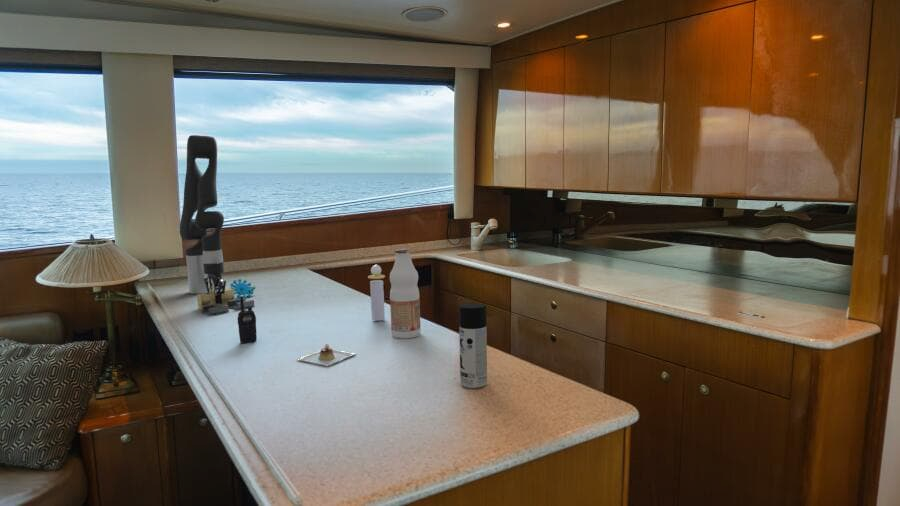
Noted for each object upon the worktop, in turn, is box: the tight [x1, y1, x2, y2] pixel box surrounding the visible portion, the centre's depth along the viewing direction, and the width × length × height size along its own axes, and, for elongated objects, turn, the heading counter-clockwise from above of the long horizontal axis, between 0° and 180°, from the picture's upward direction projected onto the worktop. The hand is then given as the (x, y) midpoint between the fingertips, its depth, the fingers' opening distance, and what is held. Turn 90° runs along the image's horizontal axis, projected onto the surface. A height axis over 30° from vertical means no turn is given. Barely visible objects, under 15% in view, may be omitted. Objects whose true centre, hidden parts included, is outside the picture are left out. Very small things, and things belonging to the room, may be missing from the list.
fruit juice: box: [389, 247, 422, 340], centre depth 191 cm, size 9×9×28 cm
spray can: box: [458, 302, 488, 390], centre depth 147 cm, size 7×7×20 cm
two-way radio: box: [237, 295, 257, 344], centre depth 189 cm, size 6×4×15 cm
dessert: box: [296, 343, 357, 367], centre depth 171 cm, size 12×12×5 cm
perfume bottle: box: [367, 264, 386, 321], centre depth 211 cm, size 6×6×20 cm
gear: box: [229, 278, 257, 299], centre depth 259 cm, size 11×6×10 cm
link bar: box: [196, 288, 235, 311], centre depth 241 cm, size 3×14×6 cm, turn 139°
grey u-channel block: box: [200, 297, 255, 316], centre depth 235 cm, size 8×18×2 cm, turn 139°
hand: (216, 303), depth 241 cm, fingers closed on link bar, 3 cm apart
